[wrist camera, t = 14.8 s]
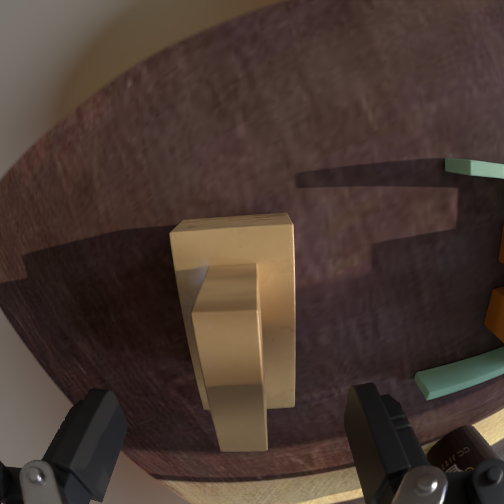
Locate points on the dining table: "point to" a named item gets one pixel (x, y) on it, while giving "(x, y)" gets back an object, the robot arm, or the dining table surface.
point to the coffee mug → (461, 450)
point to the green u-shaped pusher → (478, 366)
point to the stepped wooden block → (239, 319)
